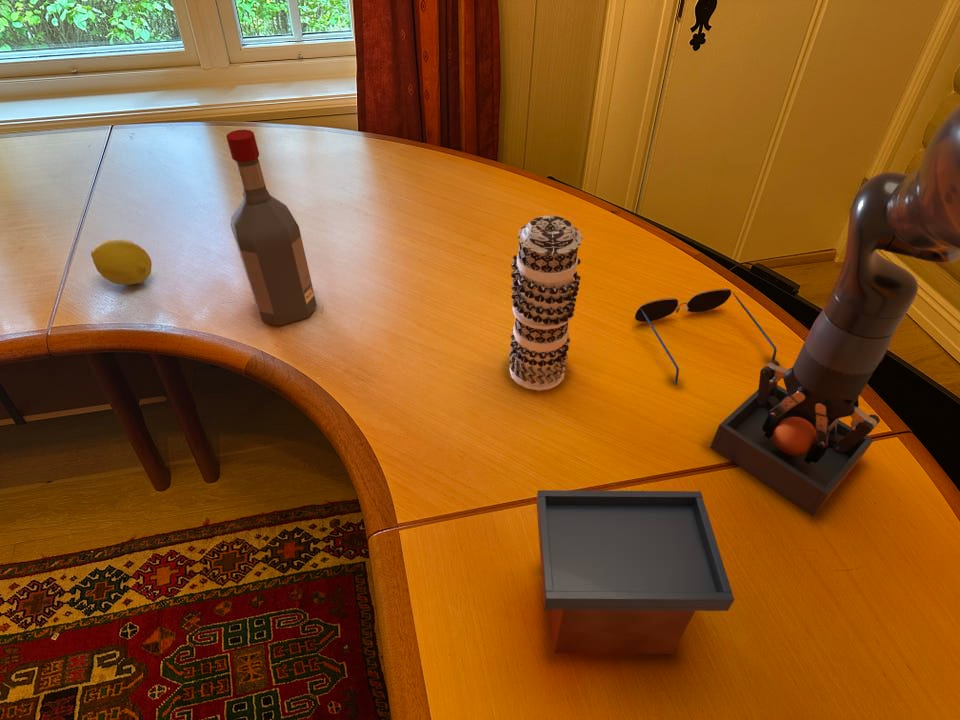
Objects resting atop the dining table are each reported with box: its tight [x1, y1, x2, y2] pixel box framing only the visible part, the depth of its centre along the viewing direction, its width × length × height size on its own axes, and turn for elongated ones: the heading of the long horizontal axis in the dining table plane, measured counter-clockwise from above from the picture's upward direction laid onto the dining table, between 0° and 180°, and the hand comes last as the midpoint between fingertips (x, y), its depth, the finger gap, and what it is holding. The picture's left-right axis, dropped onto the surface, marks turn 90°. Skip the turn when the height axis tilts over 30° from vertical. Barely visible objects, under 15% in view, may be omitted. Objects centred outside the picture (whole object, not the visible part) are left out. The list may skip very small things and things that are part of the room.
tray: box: [535, 489, 735, 612], centre depth 56 cm, size 16×11×2 cm
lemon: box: [90, 238, 153, 286], centre depth 106 cm, size 11×8×8 cm
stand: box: [550, 610, 696, 655], centre depth 61 cm, size 12×9×12 cm
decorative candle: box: [508, 215, 584, 391], centre depth 83 cm, size 9×9×25 cm
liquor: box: [226, 129, 317, 327], centre depth 93 cm, size 9×9×30 cm
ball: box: [773, 417, 817, 456], centre depth 78 cm, size 5×5×5 cm
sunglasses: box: [634, 288, 778, 385], centre depth 95 cm, size 17×15×5 cm
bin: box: [709, 384, 874, 517], centre depth 79 cm, size 14×12×5 cm
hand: (789, 446), depth 79 cm, fingers closed on ball, 5 cm apart
